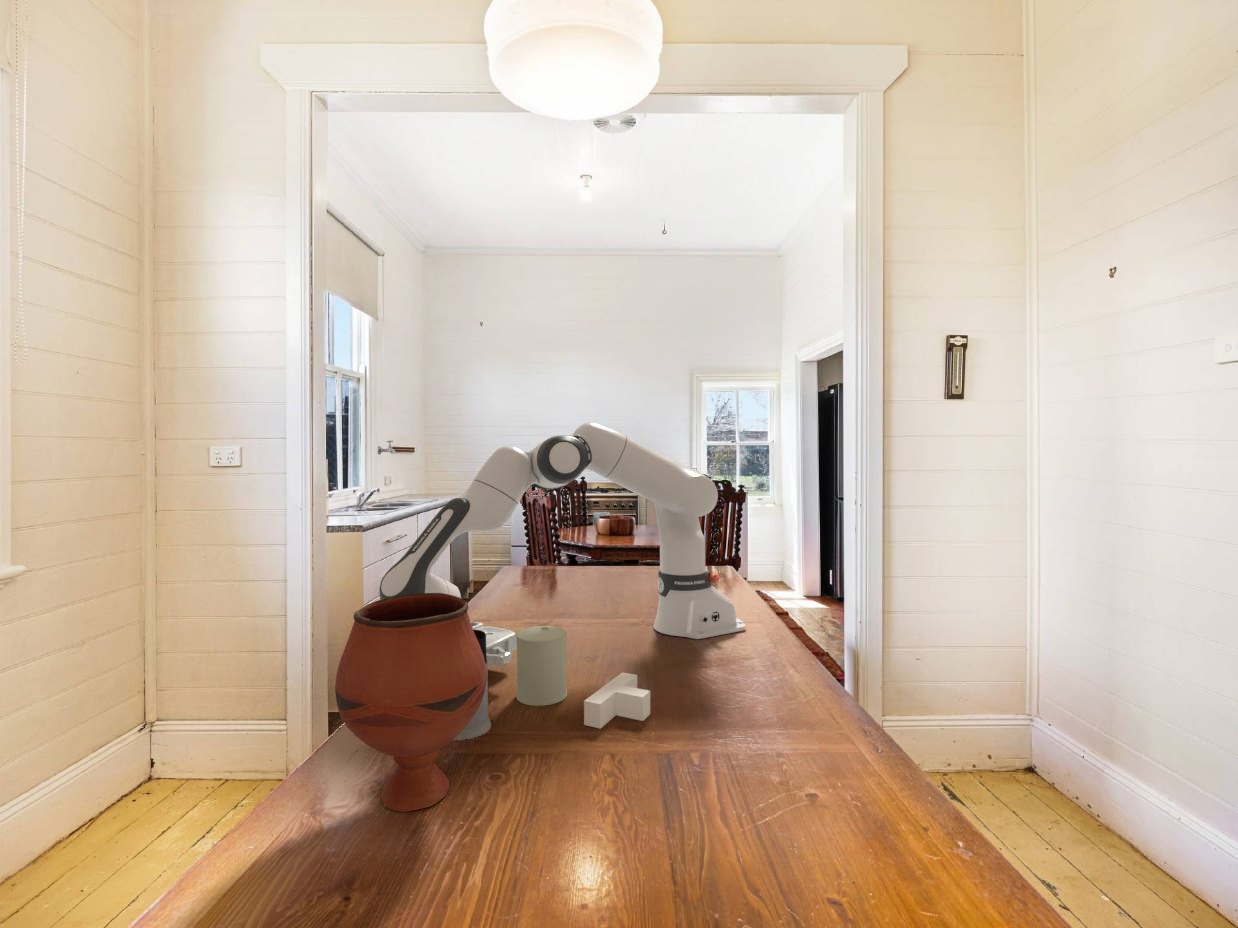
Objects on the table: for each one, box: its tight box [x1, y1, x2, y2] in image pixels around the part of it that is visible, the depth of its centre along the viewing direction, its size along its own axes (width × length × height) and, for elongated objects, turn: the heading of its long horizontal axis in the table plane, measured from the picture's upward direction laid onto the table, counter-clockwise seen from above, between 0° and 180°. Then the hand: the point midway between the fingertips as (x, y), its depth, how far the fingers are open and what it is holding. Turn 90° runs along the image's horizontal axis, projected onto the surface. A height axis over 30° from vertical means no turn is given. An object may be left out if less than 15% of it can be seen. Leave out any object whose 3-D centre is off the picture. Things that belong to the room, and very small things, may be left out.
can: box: [515, 625, 568, 707], centre depth 115 cm, size 9×9×12 cm
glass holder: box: [452, 629, 492, 741], centre depth 99 cm, size 9×14×15 cm, turn 164°
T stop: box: [583, 671, 651, 729], centre depth 107 cm, size 8×14×4 cm, turn 153°
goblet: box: [334, 593, 487, 813], centre depth 83 cm, size 19×19×25 cm
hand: (507, 659), depth 118 cm, fingers closed
